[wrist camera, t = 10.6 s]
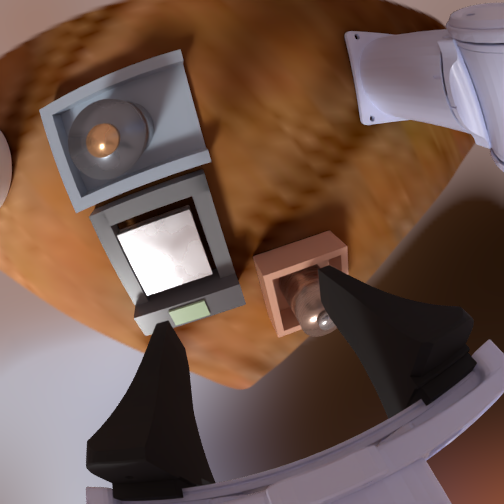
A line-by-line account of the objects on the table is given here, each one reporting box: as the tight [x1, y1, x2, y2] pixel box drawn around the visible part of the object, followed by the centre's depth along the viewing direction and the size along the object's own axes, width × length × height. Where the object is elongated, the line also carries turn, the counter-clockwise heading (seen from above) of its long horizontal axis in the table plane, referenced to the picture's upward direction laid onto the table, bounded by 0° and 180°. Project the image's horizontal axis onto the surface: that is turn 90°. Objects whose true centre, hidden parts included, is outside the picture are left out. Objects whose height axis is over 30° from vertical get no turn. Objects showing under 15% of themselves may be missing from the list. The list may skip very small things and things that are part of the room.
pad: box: [117, 205, 213, 296], centre depth 19 cm, size 5×5×1 cm
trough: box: [40, 49, 211, 213], centre depth 15 cm, size 10×8×2 cm
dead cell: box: [279, 264, 337, 336], centre depth 22 cm, size 4×4×6 cm
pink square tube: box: [253, 230, 348, 337], centre depth 24 cm, size 7×7×3 cm
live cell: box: [68, 99, 154, 180], centre depth 13 cm, size 4×4×6 cm
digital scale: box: [89, 169, 246, 336], centre depth 20 cm, size 10×8×3 cm
